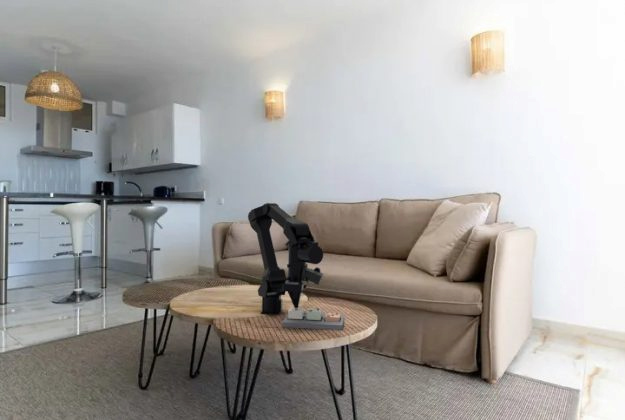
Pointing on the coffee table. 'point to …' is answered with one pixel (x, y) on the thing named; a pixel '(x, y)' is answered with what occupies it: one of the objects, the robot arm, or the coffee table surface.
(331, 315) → the tile three
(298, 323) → the board
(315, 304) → the coffee table surface
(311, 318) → the tile two
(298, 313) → the tile one
